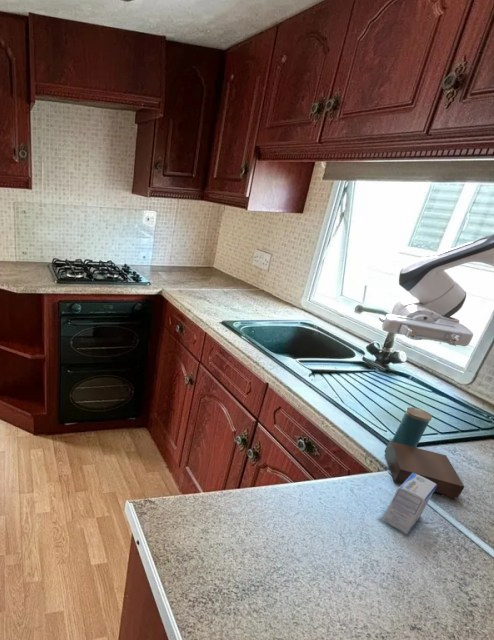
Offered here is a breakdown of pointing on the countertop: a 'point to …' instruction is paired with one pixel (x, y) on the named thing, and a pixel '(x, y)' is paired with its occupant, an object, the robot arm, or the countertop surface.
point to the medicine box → (409, 502)
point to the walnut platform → (423, 468)
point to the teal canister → (412, 427)
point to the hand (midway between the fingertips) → (432, 338)
